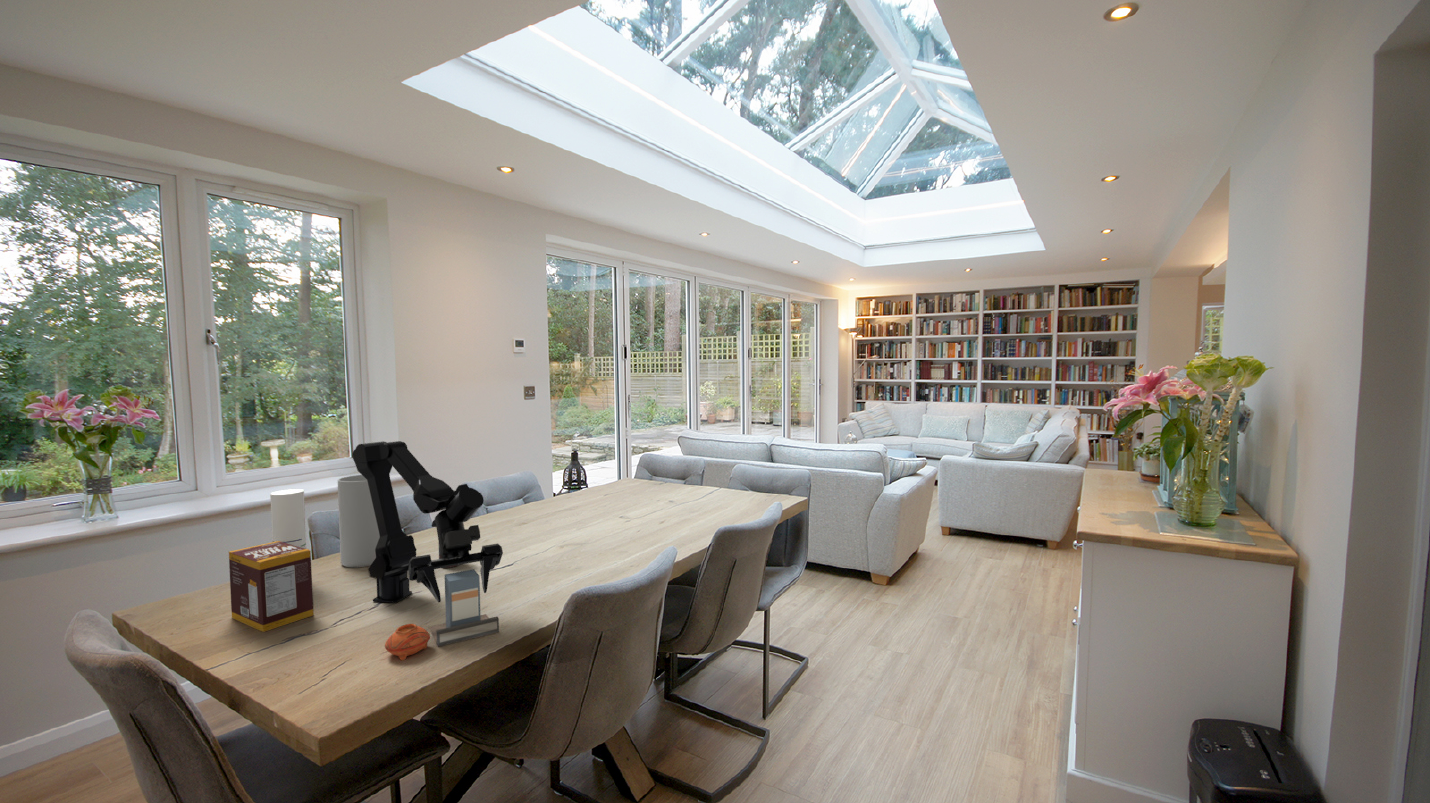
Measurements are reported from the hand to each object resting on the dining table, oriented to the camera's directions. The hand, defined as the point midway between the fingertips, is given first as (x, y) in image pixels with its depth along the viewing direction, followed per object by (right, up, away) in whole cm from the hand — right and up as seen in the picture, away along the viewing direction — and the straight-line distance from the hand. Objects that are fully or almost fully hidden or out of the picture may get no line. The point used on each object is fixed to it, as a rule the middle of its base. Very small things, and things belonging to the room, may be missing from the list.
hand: (463, 596), depth 127 cm
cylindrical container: (-58, -7, +30) cm, 66 cm away
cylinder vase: (-50, -6, +50) cm, 71 cm away
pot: (-7, -9, -9) cm, 15 cm away
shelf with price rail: (0, -8, +1) cm, 8 cm away
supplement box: (-48, -8, +11) cm, 50 cm away
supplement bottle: (-23, -6, +46) cm, 52 cm away
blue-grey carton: (0, -7, +1) cm, 7 cm away
